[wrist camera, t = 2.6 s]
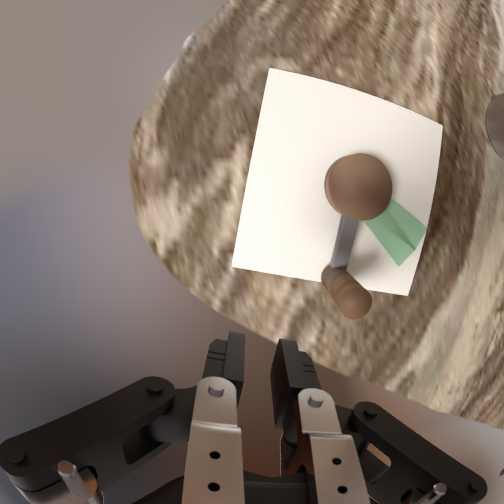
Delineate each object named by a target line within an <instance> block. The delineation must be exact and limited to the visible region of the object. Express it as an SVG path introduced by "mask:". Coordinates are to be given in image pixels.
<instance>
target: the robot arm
mask: <svg viewBox="0 0 504 504" xmlns="http://www.w3.org/2000/svg"><path fill="white" fill-rule="evenodd" d="M486 127H487V132H488V136H489V139H490V142H491V144H492V146H493V148H494V150H495V151H496V153H497V154H498V155H499V156H500V157H501V158H502V159H504V94H499V95H495V96H492V102H491V104H490V105H489V106H488V109H487V112H486ZM244 353H245V333H241V332H235V331H229V336H228V340H227V341H225V340H219V339H216V340H214V341H213V342H212V343H211V344H210V346H209V350H208V355H207V359H206V363H205V368H204V372H203V376H202V380H200V381H199V382H198V384H197V385H196V386H194V387H191V388H187V389H175V388H174V386H173V384H172V383H171V382H169V381H168V380H166V379H164V378H161V377H155V376H151V377H145V378H143V379H140V380H139V381H136V382H135V383H132V384H130V385H129V386H127V387H125V388H122V389H120V390H119V391H116V392H114V393H112V394H110V395H108V396H106V397H104V398H102V399H100V400H98V401H96V402H94V403H91V404H89V405H87V406H85V407H83V408H81V409H79V410H76V411H74V412H72V413H70V414H68V415H65V416H63V417H60V418H58V419H56V420H54V421H51V422H49V423H47V424H44V425H42V426H39V427H37V428H35V429H32V430H30V431H27V432H25V433H22V434H20V435H17V436H15V437H12V438H9V439H7V440H5V441H4V442H2V444H0V465H1V467H2V468H3V470H4V471H5V472H6V474H7V475H8V476H9V478H10V480H11V481H12V483H13V484H14V485H15V486H16V488H17V489H18V490H19V491H20V492H21V494H22V495H23V496H24V497H25V498H26V499H27V500H28V501H29V502H30V503H31V504H103V501H104V498H103V494H102V492H101V491H103V490H105V489H106V488H108V487H110V486H111V485H113V484H114V483H116V482H118V481H119V480H121V479H122V478H124V477H125V476H127V475H128V474H130V473H131V472H133V471H135V470H136V469H138V468H139V467H141V466H142V465H143V464H145V463H146V462H148V461H149V460H151V459H152V458H153V457H155V456H156V455H158V454H159V453H161V452H162V451H163V450H165V449H166V448H168V446H170V445H171V444H172V442H184V441H185V442H186V441H189V444H188V452H187V460H186V468H185V475H184V476H181V477H178V478H176V479H173V480H172V481H169V482H168V483H166V484H164V485H163V486H161V487H160V488H158V489H156V490H155V491H153V492H151V493H150V494H148V495H146V496H144V497H143V498H141V499H139V500H137V501H136V502H134V503H132V504H378V503H377V502H379V504H477V503H478V502H479V501H481V500H482V499H483V498H484V497H485V495H486V493H487V484H486V482H485V480H484V479H483V478H482V477H481V476H479V475H478V474H476V473H475V472H473V471H472V470H470V469H468V468H467V467H465V466H464V465H462V464H461V463H459V462H458V461H456V460H455V459H453V458H452V457H450V456H449V455H447V454H446V453H444V452H443V451H442V450H440V449H439V448H437V447H436V446H434V445H433V444H431V443H430V442H429V441H427V440H426V439H424V438H423V437H421V436H420V435H419V434H417V433H416V432H414V431H413V430H412V429H410V428H409V427H407V426H406V425H405V424H403V423H402V422H400V421H399V420H398V419H396V418H395V417H394V416H392V415H391V414H389V413H388V412H387V411H386V410H384V409H383V408H381V407H380V406H379V405H377V404H375V403H371V402H359V403H357V404H356V405H355V406H354V409H348V408H344V407H340V406H337V405H335V404H334V401H333V399H332V397H331V396H330V395H329V394H328V393H326V392H324V391H322V389H321V386H320V383H319V380H318V377H317V374H316V371H315V368H314V364H313V361H312V359H311V357H310V356H309V355H308V354H307V353H306V352H301V351H299V350H298V346H297V342H296V341H295V340H288V339H281V338H280V339H279V341H278V344H277V348H276V351H275V355H274V359H273V362H272V366H271V372H270V382H271V392H272V403H273V414H274V424H275V428H283V435H282V438H281V440H280V454H281V476H280V477H273V478H271V477H266V476H262V475H258V474H255V473H251V472H248V471H244V470H243V463H242V444H241V429H240V427H237V407H238V403H239V399H240V395H241V391H242V387H243V382H244V356H245V355H244ZM370 443H372V444H373V445H374V446H375V447H377V448H378V449H379V450H380V451H382V452H383V453H384V454H385V455H387V456H388V457H389V458H390V460H391V466H390V467H388V466H387V465H386V464H384V463H383V462H382V461H381V460H379V459H378V458H377V457H376V456H374V455H373V454H372V453H371V452H369V451H368V450H367V447H368V446H369V444H370ZM368 494H369V495H370V496H371V497H372V498H374V499H375V500H376V501H377V502H376V501H374V500H373V499H371V498H370V497H369V496H368Z"/></svg>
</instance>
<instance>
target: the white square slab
mask: <svg viewBox="0 0 504 504" xmlns="http://www.w3.org/2000/svg"><path fill="white" fill-rule="evenodd" d="M442 129H443V125H441V124H439V123H437V122H434V121H432V120H430V119H428V118H426V117H424V116H422V115H419V114H417V113H415V112H413V111H410V110H408V109H406V108H403V107H401V106H398V105H396V104H393V103H391V102H388V101H386V100H383V99H380V98H378V97H375V96H372V95H369V94H367V93H364V92H361V91H358V90H355V89H351V88H348V87H345V86H342V85H338V84H335V83H332V82H328V81H324V80H321V79H317V78H313V77H309V76H305V75H301V74H296V73H292V72H287V71H282V70H277V69H272V68H269V73H268V78H267V83H266V88H265V93H264V97H263V102H262V107H261V112H260V117H259V122H258V127H257V132H256V137H255V143H254V148H253V153H252V158H251V163H250V168H249V174H248V179H247V184H246V190H245V195H244V200H243V206H242V211H241V217H240V222H239V228H238V233H237V239H236V244H235V250H234V255H233V261H232V267H237V268H243V269H248V270H254V271H260V272H265V273H271V274H277V275H283V276H288V277H294V278H300V279H306V280H312V281H318V282H322V281H321V273H322V271H323V269H324V268H325V267H326V266H328V265H330V261H331V257H332V253H333V249H334V245H335V241H336V237H337V232H338V228H339V224H340V219H341V215H342V214H340V213H338V212H337V211H336V210H334V209H333V207H332V206H331V205H330V204H329V202H328V200H327V198H326V195H325V190H324V181H325V176H326V173H327V171H328V169H329V167H330V166H331V165H332V164H333V163H334V162H335V161H336V160H338V159H339V158H341V157H344V156H348V155H352V154H357V153H364V154H369V155H372V156H374V157H376V158H377V159H379V160H380V161H381V162H382V163H383V164H384V165H385V167H386V168H387V170H388V172H389V174H390V177H391V180H392V196H391V200H390V202H389V204H388V206H387V208H386V209H385V210H384V212H383V213H382V214H380V215H379V216H378V217H376V218H374V219H371V220H367V221H359V222H358V226H357V230H356V235H355V239H354V243H353V247H352V251H351V255H350V259H349V263H348V266H347V270H346V271H347V272H348V273H349V274H350V275H351V276H353V277H354V278H355V279H356V280H357V281H358V282H359V283H360V284H361V285H362V286H363V287H364V288H365V289H367V290H374V291H380V292H387V293H393V294H400V295H406V296H408V293H409V290H410V287H411V284H412V281H413V277H414V274H415V271H416V267H417V264H418V260H419V257H420V253H421V249H422V246H423V242H424V238H425V234H426V230H427V225H428V221H429V216H430V211H431V206H432V201H433V196H434V190H435V185H436V179H437V172H438V165H439V157H440V149H441V140H442Z"/></svg>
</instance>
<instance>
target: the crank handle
mask: <svg viewBox="0 0 504 504" xmlns="http://www.w3.org/2000/svg"><path fill="white" fill-rule="evenodd" d="M324 190H325V195H326V198H327V200H328V202H329V204H330V205H331V206H332V207H333V209H334V210H336V211H337V212H338V213H340V214H342V215H341V219H340V224H339V228H338V232H337V237H336V241H335V245H334V249H333V253H332V257H331V261H330V265H328V266H326V267H325V268H324V269H323V271H322V273H321V281H322V283H323V285H324V286H325V288H326V289H327V291H328V292H329V294H330V295H331V297H332V298H333V300H334V301H335V303H336V304H337V306H338V307H339V309H340V310H341V312H342V313H343V315H344V316H345V317H347V318H348V319H359V318H362V317H363V316H365V315H366V314H367V313H368V311H369V310H370V308H371V305H372V298H371V295H370V293H369V292H368V291H367V290H366V289H365V288H364V287H363V286H362V285H361V284H360V283H359V282H358V281H357V280H356V279H355V278H354V277H353V276H351V275H350V274H349V273H348V272H347V271H346V270H347V266H348V263H349V259H350V255H351V251H352V247H353V243H354V239H355V235H356V230H357V226H358V222H359V221H367V220H371V219H374V218H376V217H378V216H379V215H380V214H382V213H383V212H384V210H385V209H386V208H387V206H388V204H389V202H390V200H391V196H392V180H391V177H390V174H389V172H388V170H387V168H386V167H385V165H384V164H383V163H382V162H381V161H380V160H379V159H377V158H376V157H374V156H372V155H369V154H364V153H357V154H352V155H348V156H344V157H341V158H339V159H338V160H336V161H335V162H334V163H333V164H332V165H331V166H330V167H329V169H328V171H327V173H326V176H325V181H324Z"/></svg>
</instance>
